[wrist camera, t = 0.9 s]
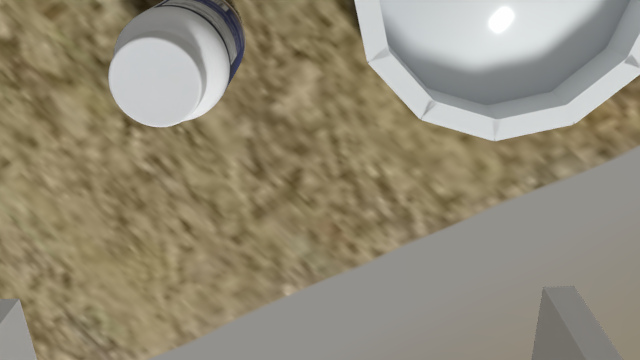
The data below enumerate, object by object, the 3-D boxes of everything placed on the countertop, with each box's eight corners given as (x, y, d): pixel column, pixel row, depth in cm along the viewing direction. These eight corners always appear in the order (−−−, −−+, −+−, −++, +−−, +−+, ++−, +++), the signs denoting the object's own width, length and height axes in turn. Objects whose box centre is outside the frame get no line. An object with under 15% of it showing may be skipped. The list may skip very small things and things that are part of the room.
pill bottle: (186, 99, 36) (137, 163, 27) (134, 17, 34) (63, 57, 25) (264, 57, 34) (241, 110, 26) (215, -30, 32) (171, -6, 24)
